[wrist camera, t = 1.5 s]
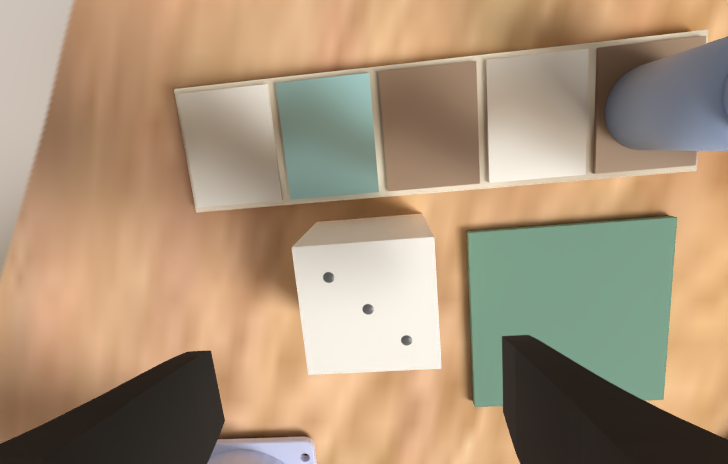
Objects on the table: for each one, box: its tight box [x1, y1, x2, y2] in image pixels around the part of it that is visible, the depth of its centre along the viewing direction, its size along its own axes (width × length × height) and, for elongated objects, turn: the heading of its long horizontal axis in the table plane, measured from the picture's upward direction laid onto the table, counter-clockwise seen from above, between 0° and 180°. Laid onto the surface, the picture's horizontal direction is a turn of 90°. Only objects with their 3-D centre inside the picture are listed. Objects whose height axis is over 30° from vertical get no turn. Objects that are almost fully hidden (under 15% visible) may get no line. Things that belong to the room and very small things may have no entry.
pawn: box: [605, 37, 728, 151], centre depth 12 cm, size 3×3×7 cm
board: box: [174, 30, 708, 213], centre depth 17 cm, size 6×22×1 cm, turn 95°
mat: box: [467, 216, 677, 407], centre depth 18 cm, size 9×9×1 cm
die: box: [291, 214, 441, 375], centre depth 16 cm, size 5×5×5 cm
